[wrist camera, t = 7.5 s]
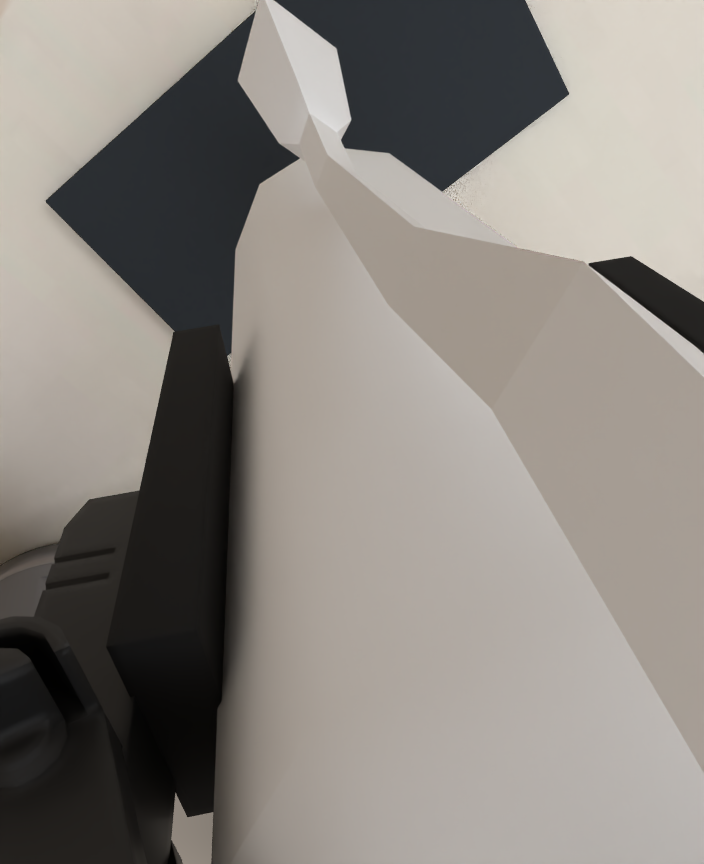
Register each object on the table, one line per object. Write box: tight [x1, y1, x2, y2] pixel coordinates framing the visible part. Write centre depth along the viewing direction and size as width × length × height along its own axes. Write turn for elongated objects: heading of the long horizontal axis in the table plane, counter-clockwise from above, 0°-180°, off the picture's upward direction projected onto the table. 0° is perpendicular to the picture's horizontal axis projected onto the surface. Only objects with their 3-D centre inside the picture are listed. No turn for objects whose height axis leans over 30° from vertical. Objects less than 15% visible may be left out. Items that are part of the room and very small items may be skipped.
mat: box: [46, 0, 569, 356], centre depth 31 cm, size 22×11×1 cm, turn 126°
